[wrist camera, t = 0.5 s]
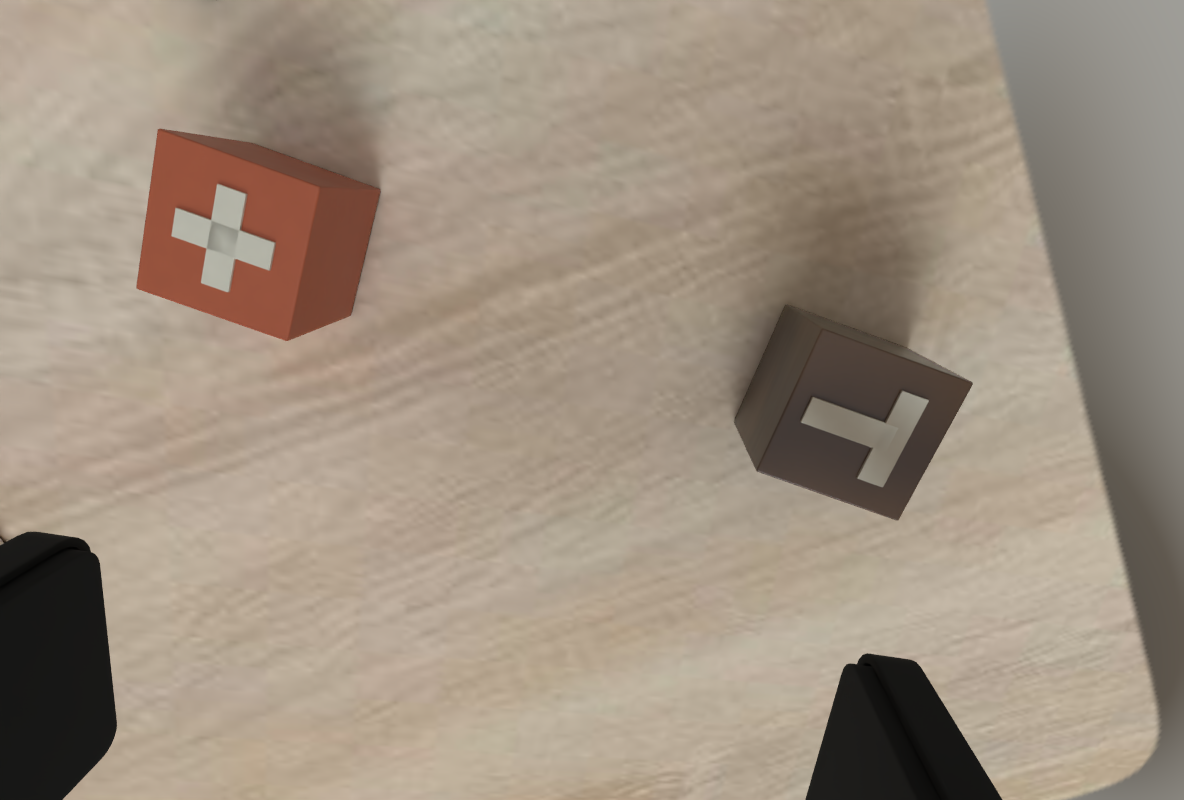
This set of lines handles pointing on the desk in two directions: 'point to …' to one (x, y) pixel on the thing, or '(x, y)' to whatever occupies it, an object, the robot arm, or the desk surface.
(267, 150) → the rust brown block
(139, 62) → the desk surface
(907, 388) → the wooden letter block
